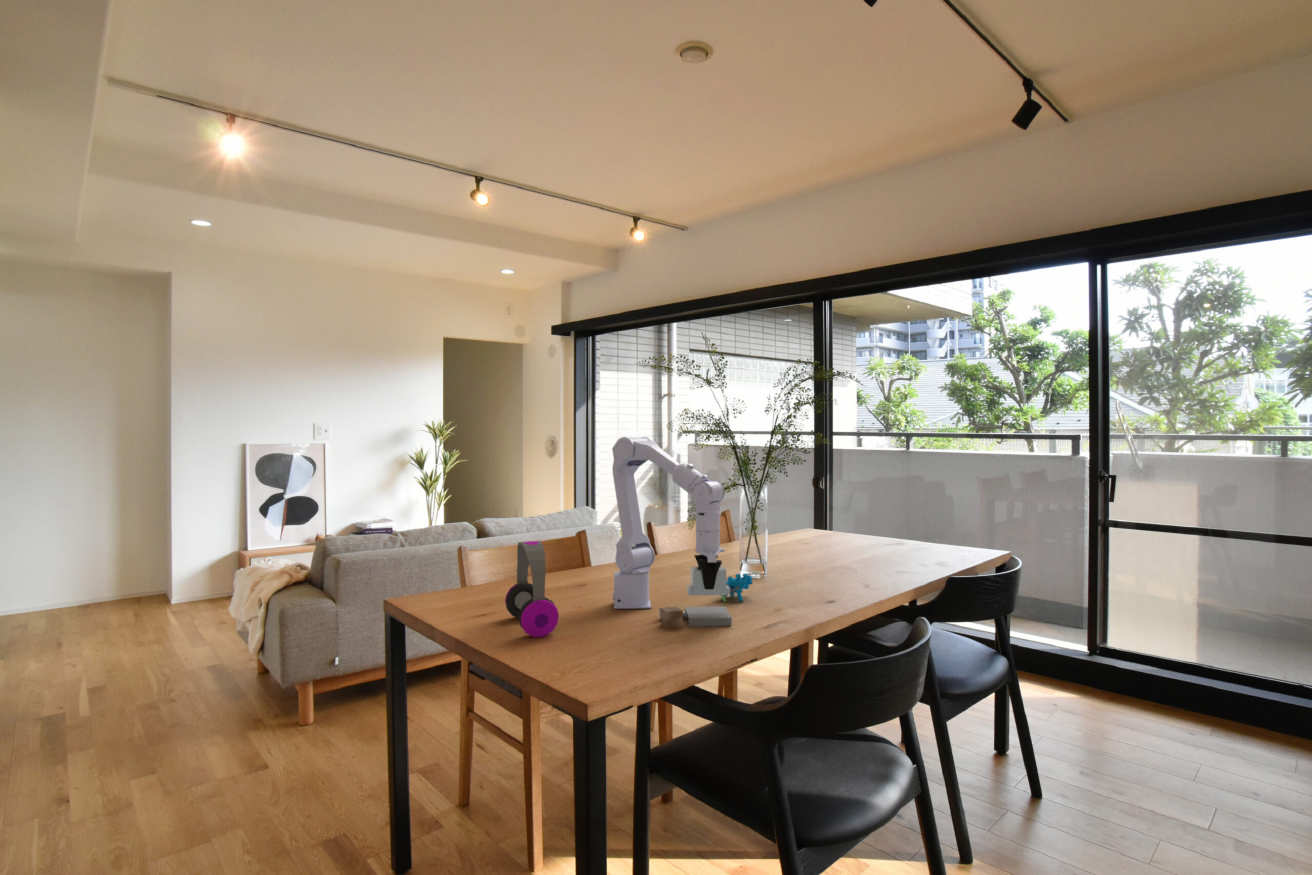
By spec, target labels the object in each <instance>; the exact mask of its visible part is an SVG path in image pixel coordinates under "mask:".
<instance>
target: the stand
mask: <svg viewBox="0 0 1312 875" xmlns="http://www.w3.org/2000/svg"><path fill="white" fill-rule="evenodd" d="M684 612H685V618H687V620H688V621H687V624H688V627H727V626H729V627H732V621H733V620H732V618H733V617H732V616H731V615H730V612H729V611H728V610H727V608H726V606H725V605H724V606H685V607H684Z"/></svg>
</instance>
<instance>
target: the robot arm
mask: <svg viewBox="0 0 1312 875" xmlns="http://www.w3.org/2000/svg"><path fill="white" fill-rule="evenodd" d="M611 450H612V456H613V461H612V462H613V463H612V477H613V484H614V491H615V496H616V504H617V510H618V517H619V523H620V531H621V536H620V538H619V540H618V541H617V543H616V544H615V547H616V553H615V564H616V566H617V569H618V570H619V571H614V573H613V574H614V575H613V593H612V601H613V609H615V610H616V609H617V610H618V609H620V610H623V609H627V610H628V609H652V605H651V604H652V603H651V601H650V570H651V567H652V565H653V564H654V563H655V559H656V554H655V550H654V549H653V547H652V545H651V541H650V537H648V536H647V535H646V534H644V532H643V524H642V520H641V519H642V518H641V513H640V506H639V499H638V494H637V486H636V481H635V480H636V479H635V473H636V472H637V471H638V470H639V468H640V467H642V465H643V464H645V463H646V462H648V461H650V462H652V463H653V464H654V465H656V466H657V467H659V468H660V469H663V471H666V472H667V474H670V475H671V477H672V481H673V483H674V484H675V485H677V486H678V487H679V488H681V489H683V490H684V491H685V492H686V493H688V495H690V496H691V499H692V501H693V503H694V507H695V508H694V509H695V527H696V528H695V550H694V552H695V553H696V554H694V556H693V557H694V559H695V561H696V563H697V567H700V568H701V571H702V576H703V583H704V588H705V589H714V586H715V581H716V576H717V573H718V570H719V568H720V566H722V564H723V560H721V559H719V560H717V559H718V557H719V556H718V555H719V554H720V553H724V552H725V551H726V550H725V547H724V548H723V547H720V544H721V543H720V542H721V534H720V533H721V531H720V530H721V529H720V528H721V524H720V523H721V519H720V518H721V516H720V515H721V502H722V501H723V500H724V497H725V488H724V485H723V484H722V483H721V482H720V480H718V479H709V476H708V475H706V474H703V473H701V472H700V471H698V470H697V469H695V465H693V463H687V462H686V463H679V462H678V461H677V460H676V459H674V458H673V457H672V456H671V455H669V453H667V452H666V451H665V450H664V449H662V448H661V447H660V446H658V443H657V442H656V441H654V440H652V439H651V438H649V437H647V436H641V437H626V436H622V437H619V439H617V440H616V442H615V444H614V445H613V446H612V448H611Z"/></svg>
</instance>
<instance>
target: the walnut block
mask: <svg viewBox="0 0 1312 875" xmlns="http://www.w3.org/2000/svg"><path fill="white" fill-rule="evenodd" d="M660 608H661V620H660V624H661V626H662V627H664V628H665V629H667V630H668V629H669V630H670V629H679V628H681V627H682V628H683V627H684V620H683V612H684V610H683V609H681V608H680V607H678V606H677V605H676V606H666V607H665V606H664V607H660Z"/></svg>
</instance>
